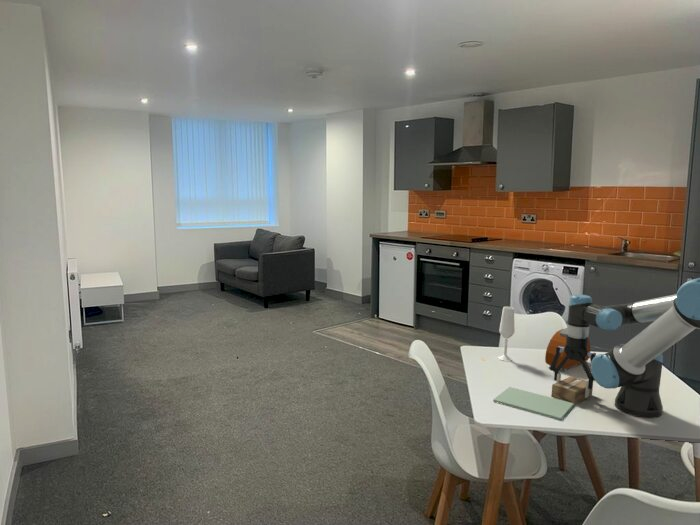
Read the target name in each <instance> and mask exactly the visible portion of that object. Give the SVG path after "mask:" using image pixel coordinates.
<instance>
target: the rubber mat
mask: <svg viewBox="0 0 700 525" xmlns="http://www.w3.org/2000/svg"><path fill="white" fill-rule="evenodd" d="M493 401H495V402H494V403H497V402H498V404H500V403H502V405H504V404H505V405H504V406H508V407H511V406H512V408H515V409H518V408H519V410H523V411H525V412H526V411H527V412H528V413H529V412H530V413H533V414H537V415H539V416H540V415H541V416H544V417H548V418H551V419H555V420H558V421H562V420H563V419H564V417H565V416H566V415H567V414H568V412H570V410H571V409H572V408H573V407H574V406H575V404H574V403H571V402H567V401H563V400H560V399H557V398H554V397H550V396H547V395H543V394H539V393H535V392H531V391H527V390H523V389H519V388H515V387H512V386H508V387H507V388H506V389H505V390H504V391H502V392H501V393H499V395H497V396H496V397H494V398H493Z"/></svg>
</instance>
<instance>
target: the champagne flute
mask: <svg viewBox="0 0 700 525" xmlns="http://www.w3.org/2000/svg"><path fill="white" fill-rule="evenodd" d="M515 328H516V327H515V308H514V307H512V306H503V307H502V312H501V319H500V324H499V330H498V331H499V334H500V336H502V337H503V338H504V347H503V350H504V351H503V354H502V355H500V356H497V358H499V359H501V360H505V361H504V362H512V361H513V359H512V358H511V357H510V356H509V355H508V341H509V340H508V339H511V338H512V337H513V336H514V334H515V331H516V330H515ZM499 359H498V360H499ZM501 360H500V361H501ZM511 360H512V361H511Z"/></svg>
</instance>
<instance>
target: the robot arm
mask: <svg viewBox="0 0 700 525" xmlns="http://www.w3.org/2000/svg"><path fill="white" fill-rule="evenodd" d="M567 318H568V319H567V325H566V328H567V334H568V335H567V336H566V346H565V347H561V346H558V347H557V348H556V355H555V357H554V359H553V362H552V364H551V366H549V370H550V371H552V372H553V374H554V376H553V381H555V383H557V382H559V381H561V380H562V372H561V371H560V370H561V368H562V367H563V366H564V364H565V363H566V362H567V361H568V360H569V359H570V360H576V361H580V364H581V366H582V368H583V370H584V373H585V375H586V376H587V379H586V380H585V381H586V390H585V397H586V399H587V397H588V396H589V389H592V387H593V388H594V381H595V382H596V384H598V385H599V386H600V387H603V388H604V389H613V390H614V389H615V390H616V389H617V388H620V389H619V391H618V393H617V395H616V397H615V399H614V406H615V407H616V409H617V410H619V411H620V412H623V413H624V414H628V415H631V416H635V417H638V418H640V417H641V418H647V419H648V418H649V419H654V418H656V419H657V418H659V417H662V415H663V413H664V412H663V411H664V410H663V409H664V408H663V403H662V399H661V395H660V387H661V386H660V385H661V377H662V369H663V364H664V360H663V359H664V357H663V356H664V355H663V353H664V352H665V351H667V350H668V349H669V348H671V347H672V346H674V345H675V344H677V343H678V342H679V341H680V340H682V339H684V338H685V337H686V336H687V335H689V334H690V333H692V332H693V331H695V329H698V330H700V277H697V278H694V279H690V280H688V281H686V282H684V283H682V285H681V286H680V287H679V288H678V290H677V292H676V293H675V294H672V295H665V296H659V297H655V298H651V299H650V298H649V299H644V300H640V301H635V302H628V303H625V304H624V303H622V304H615V305H598V304H594V303H593V298H592V297H591V296H590V295H587V294H580V293H577V294H572V295H570V297H569V303H568V315H567ZM650 322H651V323H650ZM642 323H650V324H649V325H648V326H647V327H645V328H644V329H643V330H641V331H640V332H639V333H638V334H636V335H635V336H634V337H632V338H631V339H630V340H629V341H628V342H626V343H619V344H616V345H615V346H613V347H612V348H611V349H610V350H609V351H606V353H599V354H597V353H596V352H591V351H590V352H588V350H587V346H588V339H589V334H590V326H594V327H597V328H600V329H602V330H605V331H607V330H608V331H610V332H611V331H616V330H617V329H618V328H621V327H620V326H633V325H638V324H642ZM587 337H588V338H587ZM563 350H564V351H565V353H566V355H567V356H566V357H565V358H564V360H563V361H562V362H561V363H560V365H559V366H558V367H557V368H555V366H556V364H557V361H558V359H559V357H560V354H561V353H562V352H563ZM587 355H588V356H589V359H590V360H589V361H590V366H589V364H588V361H586V359H585V357H586V356H587ZM590 367H591V369H590ZM589 397H590V396H589ZM589 397H588V398H589Z"/></svg>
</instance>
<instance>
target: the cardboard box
mask: <svg viewBox="0 0 700 525" xmlns="http://www.w3.org/2000/svg"><path fill="white" fill-rule="evenodd" d="M556 382H557V381H556ZM556 382H555V383H553V384H552V386H551V398H555V399H559V400H563V401H567V402H571V403H574V405H577V404H578V403H580V402H582V401H584V400H585V399H587V398H590V397H591V396H593V390H594V389H593V388H594V386H593V387H592V389H589V396H588V397H587V398H586V397H585V390H586V380H583V379H580V378H576V377H574V376H568V377H565V378H564V379H561V381H559V382H557V383H556Z"/></svg>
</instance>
